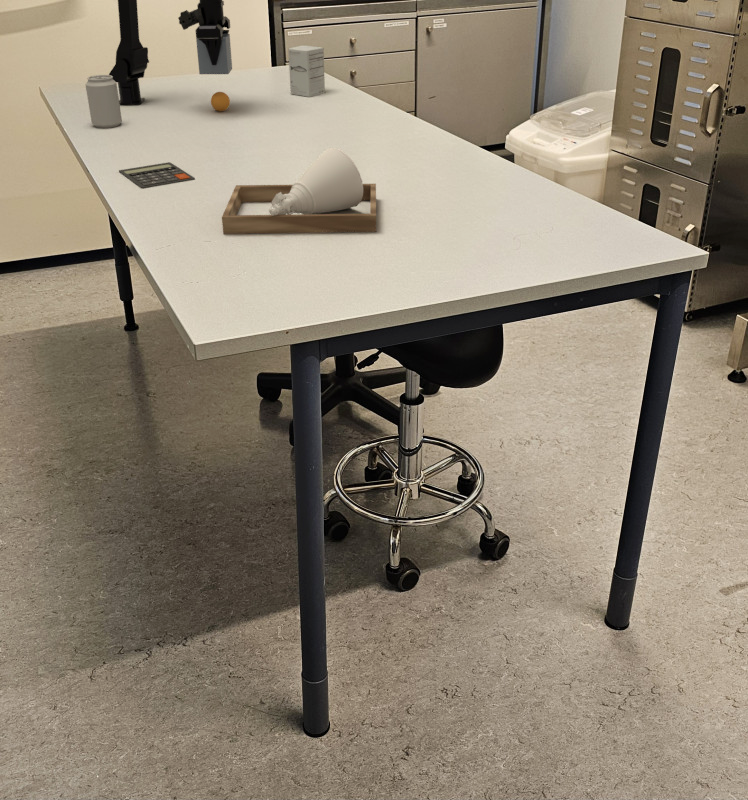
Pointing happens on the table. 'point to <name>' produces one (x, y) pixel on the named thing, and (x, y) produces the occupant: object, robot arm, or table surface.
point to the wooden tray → (292, 222)
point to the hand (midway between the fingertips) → (216, 62)
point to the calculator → (156, 175)
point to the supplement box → (306, 70)
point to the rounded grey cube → (223, 60)
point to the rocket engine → (323, 187)
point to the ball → (220, 101)
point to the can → (103, 101)
